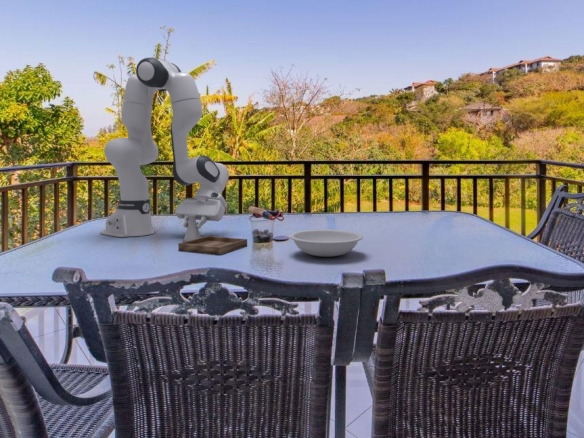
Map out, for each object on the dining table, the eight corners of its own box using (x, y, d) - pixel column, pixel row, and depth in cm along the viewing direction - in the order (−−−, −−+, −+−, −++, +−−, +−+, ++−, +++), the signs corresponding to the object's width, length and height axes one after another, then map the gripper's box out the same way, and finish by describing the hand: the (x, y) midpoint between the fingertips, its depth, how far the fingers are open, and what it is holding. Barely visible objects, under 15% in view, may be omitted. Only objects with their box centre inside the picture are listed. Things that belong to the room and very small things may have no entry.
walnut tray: (178, 250, 165) (178, 243, 165) (208, 242, 180) (207, 235, 180) (220, 255, 158) (220, 247, 158) (247, 246, 173) (247, 239, 173)
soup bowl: (342, 267, 141) (343, 245, 141) (274, 258, 154) (274, 237, 153) (374, 252, 162) (374, 233, 161) (311, 245, 174) (311, 227, 173)
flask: (198, 243, 179) (197, 216, 178) (179, 242, 181) (179, 216, 179) (205, 239, 186) (204, 214, 185) (187, 239, 188) (186, 213, 186)
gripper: (181, 192, 192) (165, 220, 184) (224, 194, 183) (209, 223, 175) (188, 202, 196) (173, 230, 189) (231, 205, 187) (217, 234, 180)
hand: (191, 227), depth 182 cm, fingers open, 4 cm apart
